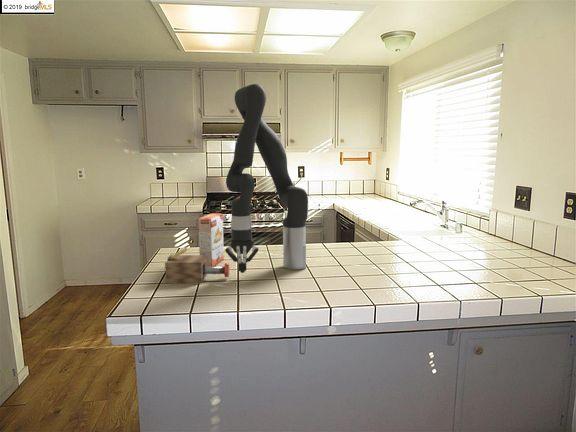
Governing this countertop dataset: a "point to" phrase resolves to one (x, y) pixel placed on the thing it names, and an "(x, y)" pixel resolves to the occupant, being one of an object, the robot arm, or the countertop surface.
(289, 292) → the countertop surface
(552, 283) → the countertop surface
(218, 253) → the cracker box
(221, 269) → the lynch pin
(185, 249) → the lever
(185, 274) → the block
